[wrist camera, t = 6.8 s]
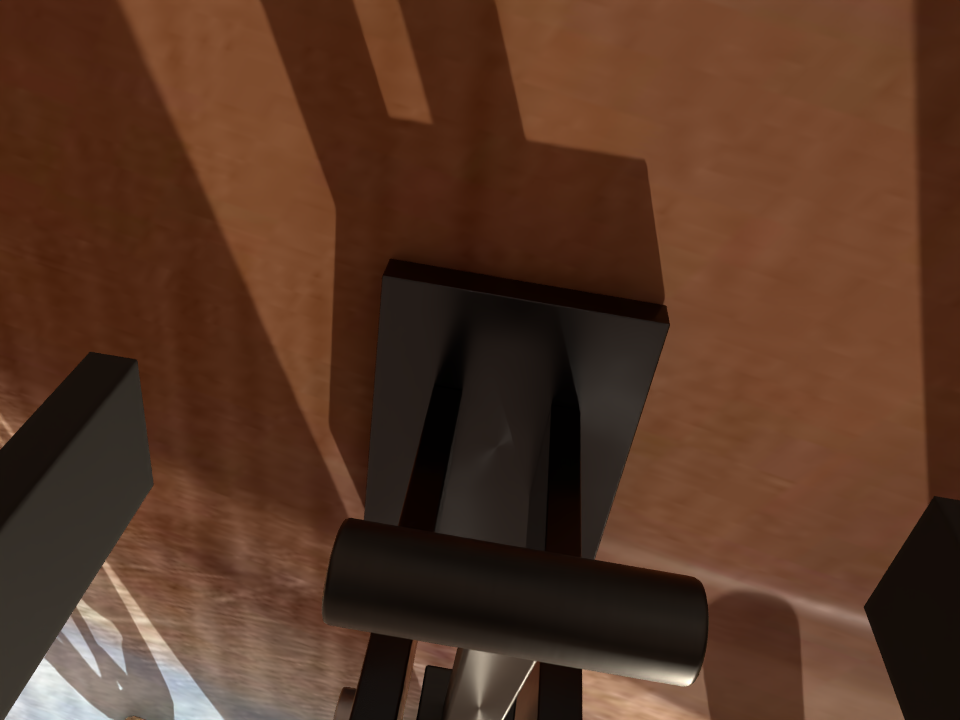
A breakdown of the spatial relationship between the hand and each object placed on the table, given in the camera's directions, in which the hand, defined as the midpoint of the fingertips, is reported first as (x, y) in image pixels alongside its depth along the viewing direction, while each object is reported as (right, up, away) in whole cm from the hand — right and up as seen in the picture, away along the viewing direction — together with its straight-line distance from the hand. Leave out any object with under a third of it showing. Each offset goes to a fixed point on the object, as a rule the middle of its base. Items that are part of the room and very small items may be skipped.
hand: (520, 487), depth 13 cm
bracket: (0, 0, +16) cm, 16 cm away
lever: (-1, -3, +3) cm, 4 cm away
